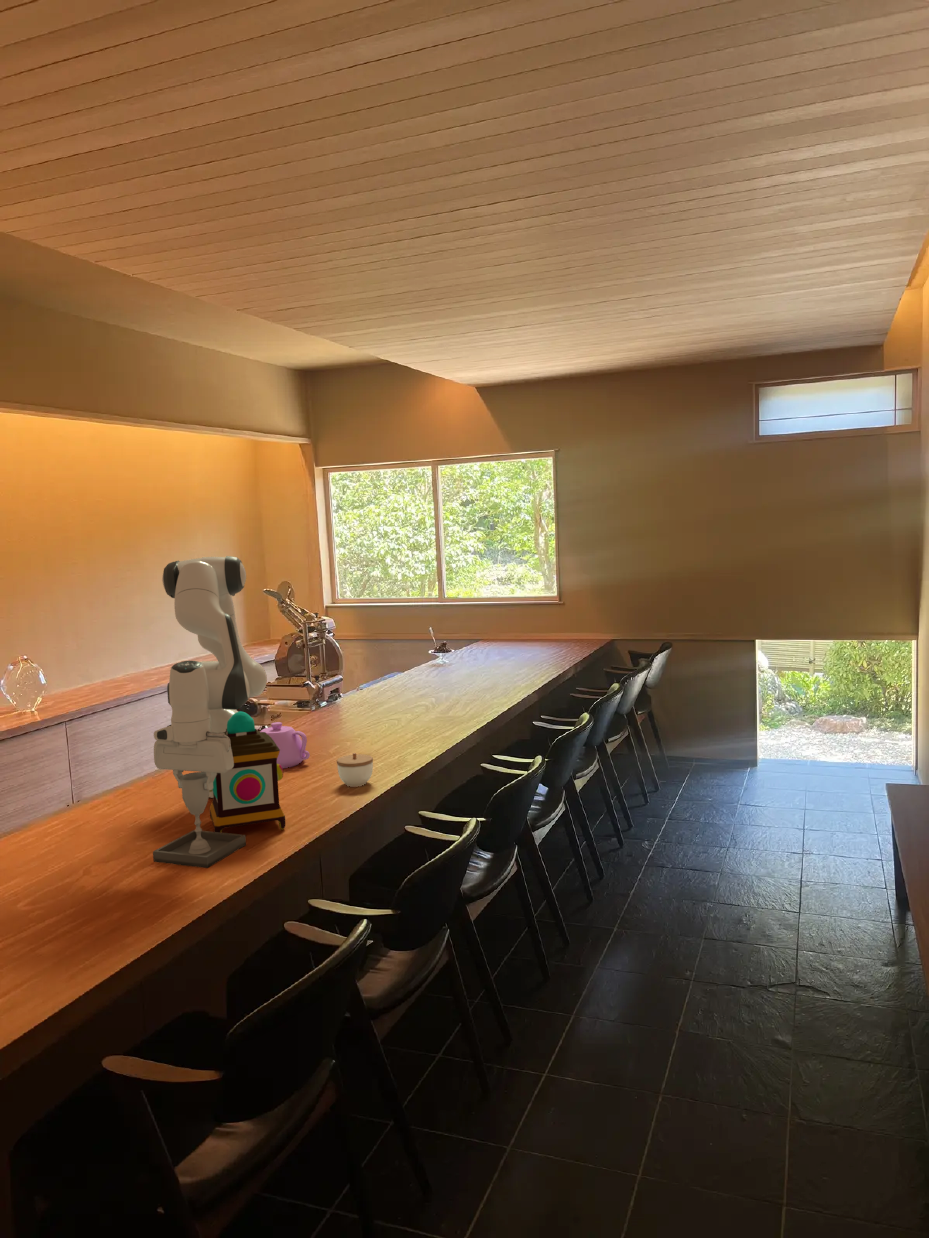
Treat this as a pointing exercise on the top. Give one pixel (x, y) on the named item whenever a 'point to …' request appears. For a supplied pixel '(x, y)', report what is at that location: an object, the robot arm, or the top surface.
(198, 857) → the tray
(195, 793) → the chalice
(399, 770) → the top surface
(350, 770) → the lidded jar
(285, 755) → the teapot
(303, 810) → the top surface
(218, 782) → the decorative lantern
